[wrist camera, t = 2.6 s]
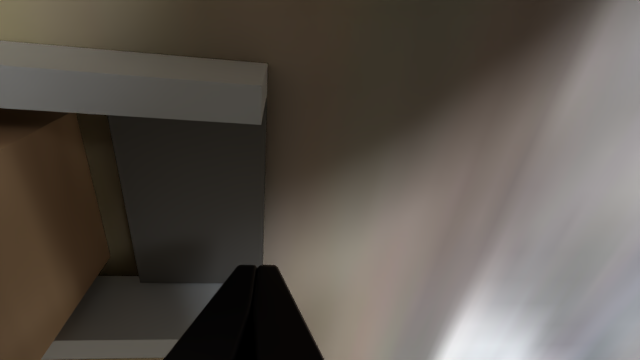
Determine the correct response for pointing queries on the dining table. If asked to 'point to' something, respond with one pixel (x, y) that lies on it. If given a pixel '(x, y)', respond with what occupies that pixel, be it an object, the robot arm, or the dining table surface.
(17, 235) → the block
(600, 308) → the dining table surface
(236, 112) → the channel
